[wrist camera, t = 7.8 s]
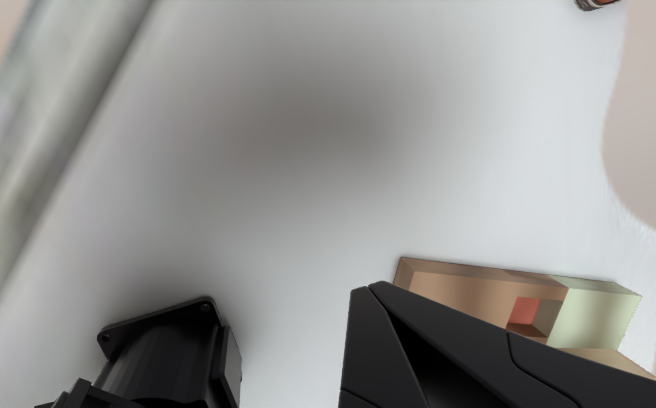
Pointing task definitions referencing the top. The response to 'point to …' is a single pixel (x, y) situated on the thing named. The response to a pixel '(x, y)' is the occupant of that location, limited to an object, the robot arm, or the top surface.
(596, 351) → the maple block
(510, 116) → the top surface
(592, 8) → the lighter
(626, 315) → the board
